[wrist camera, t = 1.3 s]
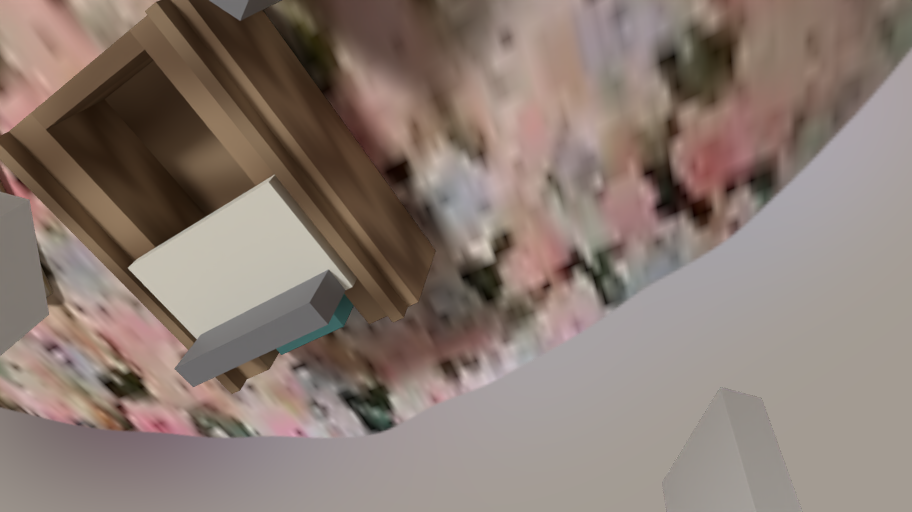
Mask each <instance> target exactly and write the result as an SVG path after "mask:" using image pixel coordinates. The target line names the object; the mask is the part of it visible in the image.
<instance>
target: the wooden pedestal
mask: <svg viewBox="0 0 912 512" xmlns="http://www.w3.org/2000/svg"><path fill="white" fill-rule="evenodd" d="M145 12H146V13H147V16H146V17H145V18H144V19H142V20H141V21H140V22H139V23H138V24H136V25H135V26H134V27H133V28H132V29H130V30H129V31H128V32H127V33H126V34H124V35H123V36H122V37H121V38H120V39H119V40H117V41H116V42H115V43H114V44H113V45H111V46H110V47H109V48H108V49H107V50H105V51H104V52H103V53H102V54H101V55H99V56H98V57H97V58H96V59H95V60H94V61H92V62H91V63H90V64H89V65H88V66H86V67H85V68H84V69H83V70H82V71H80V72H79V73H78V74H77V75H76V76H74V77H73V78H72V79H71V80H70V81H69V82H67V83H66V84H65V85H64V86H63V87H61V88H60V89H59V90H58V91H57V92H55V93H54V94H53V95H52V96H51V97H49V98H48V99H47V100H46V101H45V102H44V103H42V104H41V105H40V106H39V107H38V108H36V109H35V110H34V111H33V112H32V113H30V114H29V115H28V116H27V117H26V118H24V119H23V120H22V121H21V122H20V123H19V124H17V125H16V126H15V127H14V128H13V129H11V130H10V131H9V132H7V133H5V134H3V135H1V136H0V160H1V161H2V162H3V163H4V164H5V165H6V166H7V167H8V168H9V169H10V170H11V171H12V172H13V173H14V174H15V175H16V176H17V177H18V178H19V179H20V180H21V181H22V182H23V183H24V184H25V185H26V186H27V187H28V188H29V189H30V190H31V191H32V192H33V193H34V194H35V195H36V196H37V197H38V198H39V199H40V200H41V201H42V202H43V203H44V204H45V205H46V206H47V207H48V208H49V209H50V210H51V211H52V212H53V213H54V214H55V216H56V217H57V218H58V219H59V220H60V221H61V222H62V223H63V224H64V225H65V226H66V227H67V228H68V229H69V230H70V231H71V232H72V233H73V234H74V235H75V236H76V237H77V238H78V239H79V240H80V241H81V242H82V243H83V244H84V245H85V246H86V247H87V248H88V249H89V250H90V251H91V252H92V253H93V254H94V255H95V256H96V257H97V258H98V259H99V260H100V261H101V262H102V263H103V264H104V265H105V266H106V267H107V268H108V269H109V270H110V271H111V272H112V273H113V274H114V275H115V276H116V277H117V278H118V279H119V280H120V281H121V282H122V283H123V284H124V285H125V286H126V287H127V288H128V289H129V290H130V291H131V292H132V293H133V294H134V295H135V296H136V297H137V298H138V300H139V301H140V302H141V303H142V304H143V305H144V306H145V307H146V308H147V309H148V310H149V311H150V312H151V313H152V314H153V315H154V316H155V317H156V318H157V319H158V320H159V321H160V322H161V323H162V324H163V325H164V326H165V327H166V328H167V329H168V330H169V331H170V332H171V333H172V334H173V335H174V336H175V337H176V338H177V339H178V340H179V341H180V342H181V343H182V344H183V345H184V346H185V347H186V348H187V349H188V350H189V349H190V348H191V347H192V345H193V344H194V343H195V341H196V340H197V339H196V338H195V337H194V336H193V335H192V334H191V333H190V332H189V331H188V330H187V329H186V328H185V327H184V325H183V324H182V323H181V322H180V321H179V320H178V319H177V318H176V317H175V316H174V315H173V314H172V313H171V312H170V311H169V310H168V309H167V308H166V307H165V306H164V305H163V304H162V303H161V302H160V301H159V300H158V299H157V298H156V297H155V296H154V295H153V294H152V293H151V292H150V291H149V289H148V288H147V287H146V286H145V285H144V284H143V283H142V282H141V281H140V280H139V279H138V278H137V277H136V276H135V275H134V274H133V273H132V272H131V271H130V270H129V269H128V267H129V266H130V265H131V264H132V263H133V262H134V261H136V260H137V259H138V258H139V257H141V256H143V255H144V254H146V253H148V252H149V251H151V250H152V249H154V248H156V247H157V246H159V245H161V244H162V243H164V242H165V241H167V240H169V239H170V238H172V237H174V236H175V235H177V234H178V233H180V232H182V231H183V230H185V229H187V228H188V227H190V226H192V225H193V224H195V223H196V222H198V221H200V220H201V219H203V218H205V217H206V216H208V215H209V214H211V213H213V212H214V211H216V210H218V209H219V208H221V207H222V206H224V205H226V204H227V203H229V202H231V201H232V200H234V199H236V198H237V197H239V196H240V195H242V194H244V193H245V192H247V191H249V190H250V189H252V188H253V187H255V186H257V185H258V184H260V183H262V182H263V181H265V180H267V179H268V178H270V177H271V176H273V175H276V177H277V178H278V179H279V180H280V182H281V183H282V184H283V185H284V187H285V188H286V189H287V190H288V192H289V193H290V194H291V195H292V197H293V198H294V199H295V200H296V202H297V203H298V204H299V206H300V207H301V208H302V209H303V211H304V212H305V213H306V214H307V216H308V217H309V218H310V219H311V221H312V222H313V223H314V224H315V226H316V227H317V228H318V229H319V231H320V232H321V233H322V234H323V236H324V237H325V238H326V239H327V241H328V242H329V243H330V244H331V246H332V247H333V248H334V249H335V251H336V252H337V253H338V254H339V256H340V257H341V258H342V260H343V261H344V262H345V263H346V265H347V266H348V267H349V268H350V270H351V271H352V272H353V273H354V275H355V276H356V277H357V280H356V282H355V284H354V286H353V287H351V288H349V289H347V290H346V291H345V293H344V294H345V295H346V296H347V298H348V299H349V300H350V301H351V303H352V304H353V305H354V306H355V307H356V309H357V310H358V311H359V312H360V314H361V315H362V316H363V317H364V318H365V320H366V321H367V322H368V323H369V324H371V323H373V322H375V321H377V320H380V319H382V318H384V317H386V316H388V317H389V319H390V320H391V321H392V322H395V321H398V320H400V319H402V318H404V316H405V313H406V310H407V307H409V306H411V305H413V304H415V303H418V302H419V299H420V296H421V293H422V290H423V287H424V284H425V281H426V278H427V275H428V272H429V269H430V266H431V263H432V260H433V257H434V254H435V249H434V248H433V246H432V245H431V244H430V242H429V241H428V240H427V238H426V237H425V235H424V234H423V233H422V231H421V230H420V228H419V227H418V226H417V224H416V223H415V221H414V220H413V219H412V217H411V216H410V214H409V213H408V212H407V210H406V209H405V208H404V206H403V205H402V203H401V202H400V201H399V199H398V198H397V196H396V195H395V194H394V192H393V191H392V189H391V188H390V187H389V185H388V184H387V182H386V181H385V180H384V178H383V177H382V176H381V174H380V173H379V171H378V170H377V169H376V167H375V166H374V164H373V163H372V162H371V160H370V159H369V157H368V156H367V155H366V153H365V152H364V150H363V149H362V148H361V146H360V145H359V144H358V142H357V141H356V139H355V138H354V137H353V135H352V134H351V132H350V131H349V130H348V128H347V127H346V125H345V124H344V123H343V121H342V120H341V118H340V117H339V116H338V114H337V113H336V111H335V110H334V109H333V107H332V106H331V105H330V103H329V102H328V100H327V99H326V98H325V96H324V95H323V93H322V92H321V91H320V89H319V88H318V86H317V85H316V84H315V82H314V81H313V79H312V78H311V77H310V75H309V74H308V73H307V71H306V70H305V68H304V67H303V66H302V64H301V63H300V61H299V60H298V59H297V57H296V56H295V54H294V53H293V52H292V50H291V49H290V47H289V46H288V45H287V43H286V42H285V41H284V39H283V38H282V36H281V35H280V34H279V32H278V31H277V29H276V28H275V27H274V25H273V24H272V22H271V21H270V20H269V18H268V17H267V15H266V14H265V13H264V11H263V10H261V11H259V12H257V13H255V14H253V15H251V16H249V17H247V18H245V19H243V20H241V21H240V20H238V19H237V18H235V17H234V16H232V15H230V14H229V13H227V12H226V11H224V10H223V9H221V8H220V7H218V6H217V5H215V4H214V3H212V2H211V1H209V0H160V1H158V2H155V3H154V4H153V5H152V6H151V7H150V8H148V9H147V10H146V11H145ZM278 354H279V352H278V351H277V349H274V350H272V351H270V352H268V353H266V354H264V355H261V356H259V357H257V358H255V359H253V360H251V361H248V362H246V363H244V364H242V365H240V366H238V367H236V368H233V369H231V370H229V371H227V372H225V373H223V374H220V375H218V376H216V378H217V379H218V380H219V381H220V382H221V384H222V385H223V386H224V387H225V388H226V389H227V390H228V391H229V392H230V393H231V394H233V393H235V392H237V391H240V390H241V388H242V386H243V385H244V383H245V382H246V380H247V379H249V378H251V377H253V376H255V375H257V374H260V373H262V372H264V371H266V370H269V369H270V367H271V366H272V364H273V362H274V361H275V359H276V357H277V355H278Z"/></svg>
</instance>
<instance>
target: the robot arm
mask: <svg viewBox="0 0 912 512" xmlns="http://www.w3.org/2000/svg"><path fill="white" fill-rule="evenodd" d="M48 315H49V311H48V305H47V299H46V293H45V288H44V282H43V276H42V270H41V264H40V258H39V253H38V247H37V241H36V235H35V229H34V224H33V218H32V212H31V206H30V200H29V199H25V198H22V197H18V196H14V195H10V194H7V193H3V192H0V356H1V355H2V354H3V353H4V352H5V351H7V350H8V349H9V348H10V347H11V346H13V345H14V344H15V343H16V342H17V341H18V340H20V339H21V338H22V337H23V336H24V335H25V334H27V333H28V332H29V331H30V330H31V329H32V328H34V327H35V326H36V325H37V324H38V323H40V322H41V321H42V320H43V319H44V318H45V317H47V316H48ZM662 485H663V492H664V499H665V505H666V512H802V509H801V506H800V504H799V501H798V498H797V495H796V492H795V490H794V487H793V484H792V481H791V479H790V476H789V473H788V470H787V467H786V465H785V462H784V459H783V456H782V454H781V451H780V448H779V445H778V442H777V439H776V437H775V434H774V431H773V428H772V426H771V423H770V420H769V417H768V414H767V412H766V409H765V406H764V403H763V400H762V398H759V397H756V396H752V395H748V394H745V393H741V392H737V391H734V390H730V389H726V388H722V387H720V389H719V390H718V392H717V394H716V395H715V397H714V398H713V400H712V402H711V403H710V405H709V407H708V408H707V410H706V411H705V413H704V415H703V416H702V418H701V420H700V421H699V423H698V425H697V426H696V428H695V429H694V431H693V433H692V434H691V436H690V438H689V439H688V441H687V442H686V444H685V446H684V447H683V449H682V451H681V452H680V454H679V455H678V457H677V459H676V461H675V462H674V464H673V465H672V467H671V469H670V470H669V472H668V473H667V475H666V477H665V478H664V480H663V482H662Z"/></svg>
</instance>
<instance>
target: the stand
mask: <svg viewBox="0 0 912 512" xmlns="http://www.w3.org/2000/svg"><path fill="white" fill-rule="evenodd" d="M209 1H211V2H212V3H214V4H215V5H217V6H218V7H220V8H221V9H223V10H224V11H226V12H227V13H229V14H230V15H232V16H234V17H235V18H237V19H238V20H240V21H241V20H243V19H245V18H247V17H249V16H251V15H253V14H255V13H257V12H259V11H261V10H263V9H265V8H267V7H269V6H271V5H273V4H275V3H277V2H279V1H282V0H209Z"/></svg>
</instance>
